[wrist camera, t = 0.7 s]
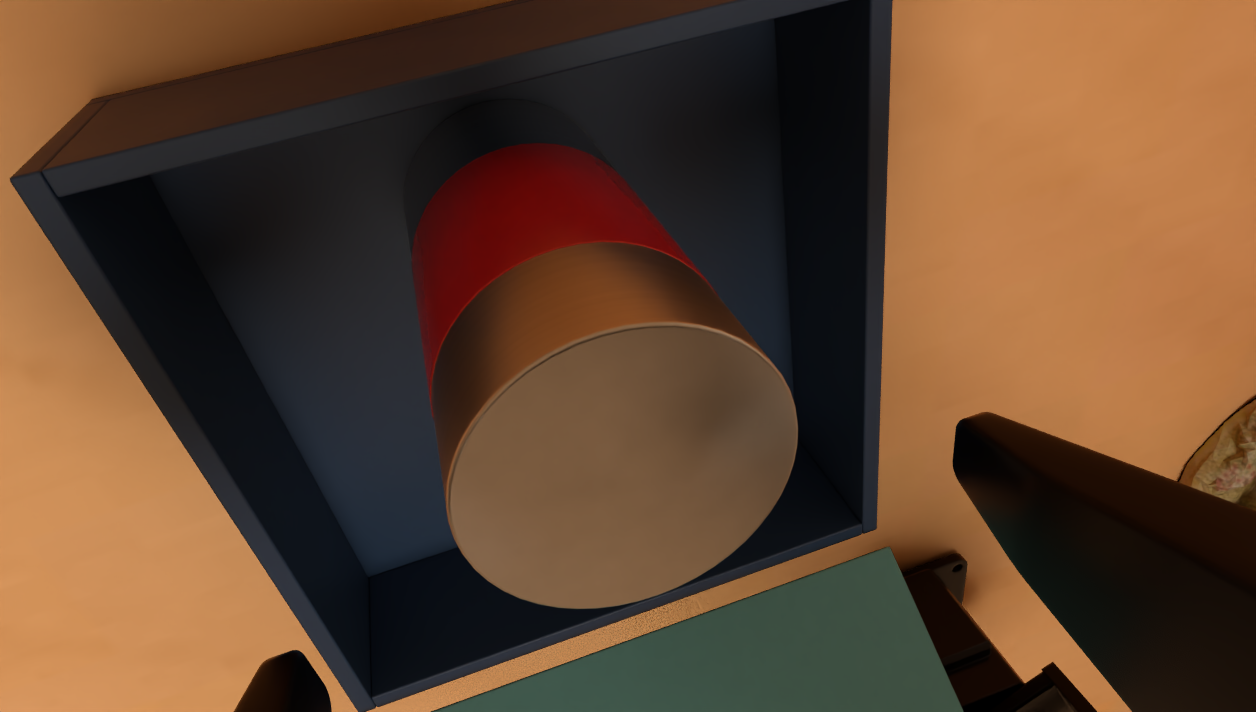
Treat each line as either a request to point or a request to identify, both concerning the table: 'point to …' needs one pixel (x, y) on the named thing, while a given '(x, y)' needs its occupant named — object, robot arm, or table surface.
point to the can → (581, 370)
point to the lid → (761, 656)
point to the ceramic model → (1228, 461)
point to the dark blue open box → (385, 296)
